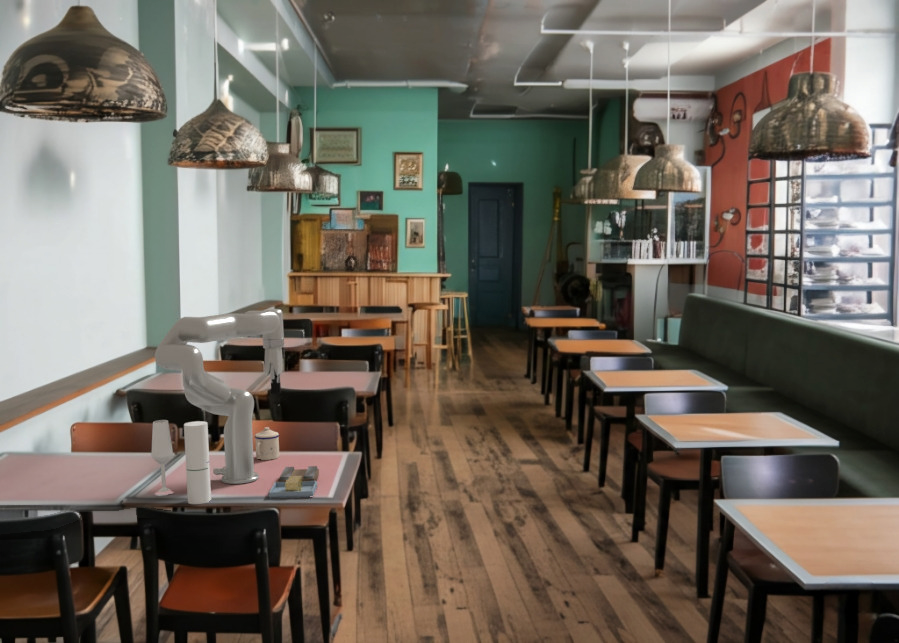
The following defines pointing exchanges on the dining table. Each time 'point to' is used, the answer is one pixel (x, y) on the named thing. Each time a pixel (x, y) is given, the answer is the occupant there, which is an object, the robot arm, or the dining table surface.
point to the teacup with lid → (267, 444)
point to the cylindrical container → (197, 462)
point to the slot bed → (300, 473)
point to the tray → (280, 491)
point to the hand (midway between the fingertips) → (276, 393)
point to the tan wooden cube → (292, 485)
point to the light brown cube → (299, 480)
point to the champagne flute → (161, 447)
